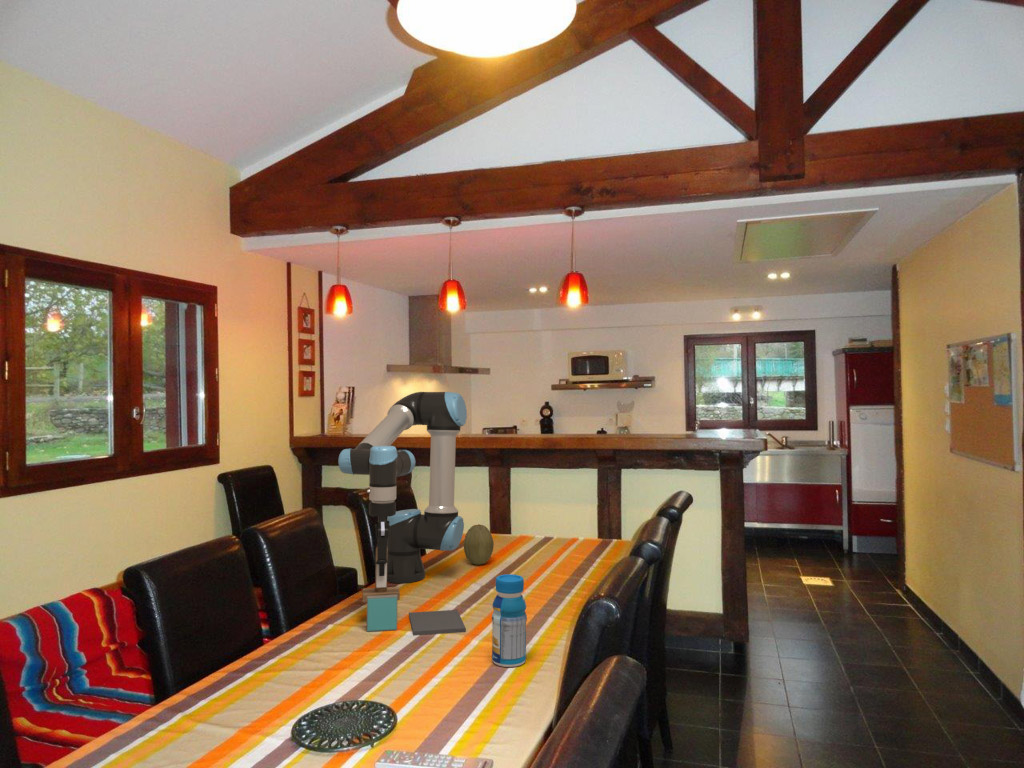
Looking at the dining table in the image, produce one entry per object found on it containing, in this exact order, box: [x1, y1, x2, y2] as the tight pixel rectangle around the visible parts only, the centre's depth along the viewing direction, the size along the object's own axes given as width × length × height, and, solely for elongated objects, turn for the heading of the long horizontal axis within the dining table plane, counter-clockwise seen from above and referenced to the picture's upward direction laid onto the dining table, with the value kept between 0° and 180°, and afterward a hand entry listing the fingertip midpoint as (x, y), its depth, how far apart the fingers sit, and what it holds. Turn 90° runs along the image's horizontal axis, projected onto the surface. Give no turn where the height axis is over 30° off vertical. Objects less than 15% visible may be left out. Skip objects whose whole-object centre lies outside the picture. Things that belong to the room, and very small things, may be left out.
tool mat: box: [408, 609, 467, 636], centre depth 189 cm, size 16×14×1 cm
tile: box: [366, 595, 398, 633], centre depth 184 cm, size 2×8×9 cm, turn 103°
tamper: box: [362, 546, 400, 603], centre depth 191 cm, size 6×10×14 cm, turn 103°
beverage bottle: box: [491, 573, 528, 668], centre depth 163 cm, size 8×8×20 cm
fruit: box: [463, 523, 495, 566], centre depth 257 cm, size 11×11×15 cm
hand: (381, 584), depth 190 cm, fingers closed on tamper, 3 cm apart
